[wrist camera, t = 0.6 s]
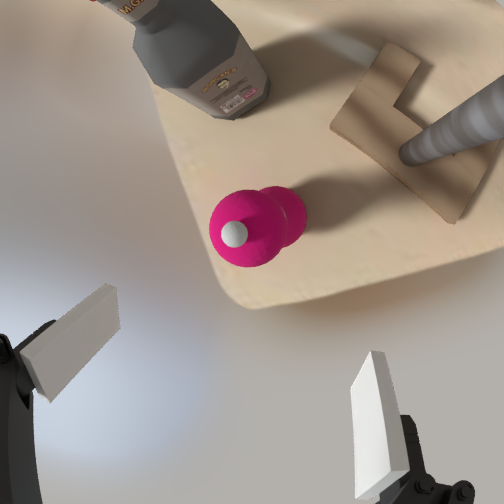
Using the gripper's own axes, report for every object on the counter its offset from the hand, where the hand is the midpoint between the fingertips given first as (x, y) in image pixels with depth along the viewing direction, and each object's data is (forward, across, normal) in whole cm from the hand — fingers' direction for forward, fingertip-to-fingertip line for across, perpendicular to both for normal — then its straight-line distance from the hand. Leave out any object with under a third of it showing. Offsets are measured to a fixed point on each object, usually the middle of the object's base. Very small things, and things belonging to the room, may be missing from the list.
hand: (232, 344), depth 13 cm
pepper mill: (+26, 0, 0) cm, 26 cm away
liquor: (+29, -10, +17) cm, 35 cm away
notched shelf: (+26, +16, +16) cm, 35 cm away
